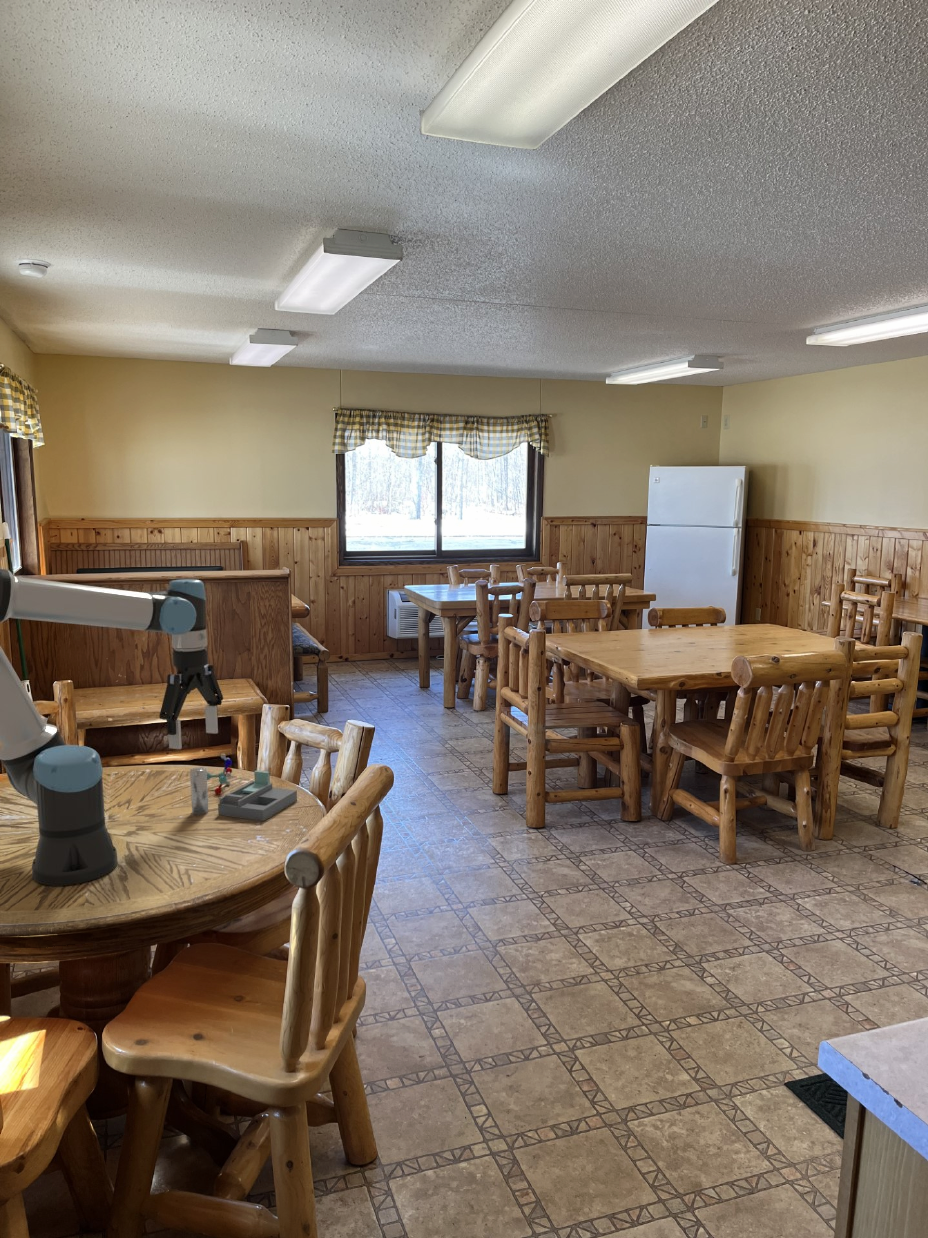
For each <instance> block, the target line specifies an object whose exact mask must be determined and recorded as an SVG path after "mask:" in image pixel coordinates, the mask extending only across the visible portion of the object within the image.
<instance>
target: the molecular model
mask: <svg viewBox="0 0 928 1238" xmlns="http://www.w3.org/2000/svg"><path fill="white" fill-rule="evenodd" d="M226 756H227V754H225V753H221V755H220V758H221V759H223V760H224V764H225V766H224V768H223V770H222V772H219V774H211V773H210V771H208V770H206V772H207V781H209V780H210V779H211V778H218V782H219V784H218V785H219V786H218V787H216V788H215V789H214V794H216V795H220V794H222V791H223V790H222V787H223V784H225V786H230V784H231V781H230V780H228V779H229V778H231V776H232V773H233V769H232V768H231V767H230V766H231V765H232V764H233V761H232V760H231V758H229V757H226ZM199 768H204V766H200V767H199ZM227 778H228V779H227Z"/></svg>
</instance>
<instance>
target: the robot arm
mask: <svg viewBox="0 0 928 1238" xmlns="http://www.w3.org/2000/svg"><path fill="white" fill-rule="evenodd" d="M205 591H206V590H205V584H204V582H203V581H202V580H199V579H194V578H193V579H189V578H188V579H186V578H185V579H176V580H175V579H174V580H173V579H172V580H170V581H169V584H168V589H165V590H158V591H157V590H155V591H142V592H141V591H140V592H139V591H134V590H133V591H132V590H124V589H116V588H108V587H100V586H93V585H87V584H85V585H84V584H76V583H69V582H61V581H55V580H47V579H39V578H37V579H36V578H32V577H31V578H30V577H24V576H23V577H22V576H15V575H14V574H13V573H12V572H11V571H10V570H9V569H4V568H0V623H4V622H5V621H7V619H9V618H11V619H19V620H21V619H22V620H28V621H29V620H30V621H42V622H51V623H52V622H53V623H63V624H72V625H73V624H74V625H85V626H92V627H93V626H95V627H104V628H106V627H107V628H114V629H115V628H117V629H127V630H136V631H137V630H138V631H145V632H155V633H157V632H158V633H164V634H168V635H171V647H172V648H173V649H174V650H173V651H172V664H173V667H175V668H176V669H177V673H176V674H174V673H173V674H170V673H169V674H167V677H166V679H167V680H166V688H165V690H164V691H165V692H164V696H163V699H162V703H161V707H160V713H159V716H158V717H159V719H160V720H163V721H166V727H167V728H166V729H167V732H166V733H167V735H168V748H169V749H175V750H181V749H182V746H183V745H182V731H181V730H182V728H181V727H182V726H181V719H179V715H180V713H181V711H182V709H183V706H184V704H185V701H186V699H187V696H188V695H189V694H190V693H191V691H194V690H195V689H197V691H198V692H199V693H200V695H201V696H202V698H203V699H204V701H205V702H206V703H207V705H204V711H205V712H204V714H205V733H206V734H218V733H219V729H218V727H219V725H218V724H219V723H218V716H219V715H218V713H219V712H218V706H221V705H222V703H223V702H222V701H223V699H224V696H223V692H222V690H221V687H220V686H219V682H218V679H217V677H216V674H215V669H214V665H213V664H208V663H209V655H208V654H209V653H208V649H207V648H206V647H207V646H208V639H207V637H208V636H207V635H208V634H207V613H206V612H207V610H206V609H207V607H206V601H207V598H206V592H205ZM0 744H1V747H0V761H1V763H2V765H3V766H4V768H5V770H6V776H7V778H8V781H9V783H10V785H11V786H12V787H13V789H14V790H15V791H16V792H17V793H19V794H20V795H22V796H24V797H25V798H27V799H29V801H31V802H32V803H33V804H35V805H36V808H37V819H38V820H37V821H38V832H39V838H38V842H37V846H36V850H35V858H34V859H33V861H32V864H31V874H32V875H31V876H32V879H33V881H35V882H36V883H38V884H40V885H44V886H51V887H56V886H57V887H60V886H61V887H62V886H72V885H78V884H84V883H88V882H91V881H94V880H97V879H99V878H102V877H104V876H105V875H108V874H109V873H111V872H112V871H113V870H114V869H115V868H116V867H117V866H118V851H117V848H116V847H115V845H114V844H113V839H112V838H111V835H110V833H109V831H108V828H107V826H106V815H105V801H104V800H105V798H104V785H103V782H104V781H103V771H104V769H103V765H102V763H101V756H100V754H99V753H98V752H97V751H96V750H95V749H93V748H91V747H88V746H86V745H85V746H84V745H81V746H80V745H78V744H67V743H66V742H65V739H64V738H63V736H62V734H61V732H60V730H59V729H58V727H57V726H56V725H54V724H50V723H46V722H44V719H43V718H42V716H41V714H40V712H39V711H38V709H37V707H36V706H35V703H34V702H33V700H32V698H31V697H30V695H29V693H28V691H27V689H26V688H25V687H24V685H23V683H22V681H21V680H20V678H19V676H18V674H17V672H16V671H15V668H14V667H13V665H12V664H11V662H10V660H9V658H8V657H7V655H6V653H5V651H4V650H3V648H2V646H1V645H0Z"/></svg>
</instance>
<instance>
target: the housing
mask: <svg viewBox="0 0 928 1238" xmlns="http://www.w3.org/2000/svg"><path fill="white" fill-rule="evenodd" d="M253 784H255V780H251V781H250V782H248V783H246V784H244V785H241V786H240V787H238V788H235V789H234V790H233V791H230V792H229V793H226V794H224V795H223V796H221V797H218V800H219V801H218V802H219V803H218V804H217V808H218V809H217V811H218V816H226V817H234V818H239V819H245V820H246V819H248V820H254V821H261V822H264V821H266V820H267V819H269V818H272V817H273V816H274V815H276V814H278V813H279V812H280V811H283V810H284V809H285V808H288V807H289V806H291V805H292V804H294V803H296V802H297V801H298V791H297V789H287V788H282V787H281V788H280V787H273V782H272V783H271V782H270V783H269V784H268V785H266V786H264V787H262V788H260V789H258V790H257V791H255V792H253V793H251V794H250V793H243V790H244V789H246V788H247V787H249V786H251V785H253Z"/></svg>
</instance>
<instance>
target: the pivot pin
mask: <svg viewBox="0 0 928 1238" xmlns="http://www.w3.org/2000/svg"><path fill="white" fill-rule="evenodd" d="M206 771H207V768H205V767H203V768H200V767H195V768H192V769H190V770H189V776H190V777H189V779H190V793H191V795H190V796H191V798H190V799H191V813H192V815H195V816H200V815H201V816H202V815H205V814H208V813H209V795H208V792H209V791H208V780H207V772H206Z"/></svg>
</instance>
